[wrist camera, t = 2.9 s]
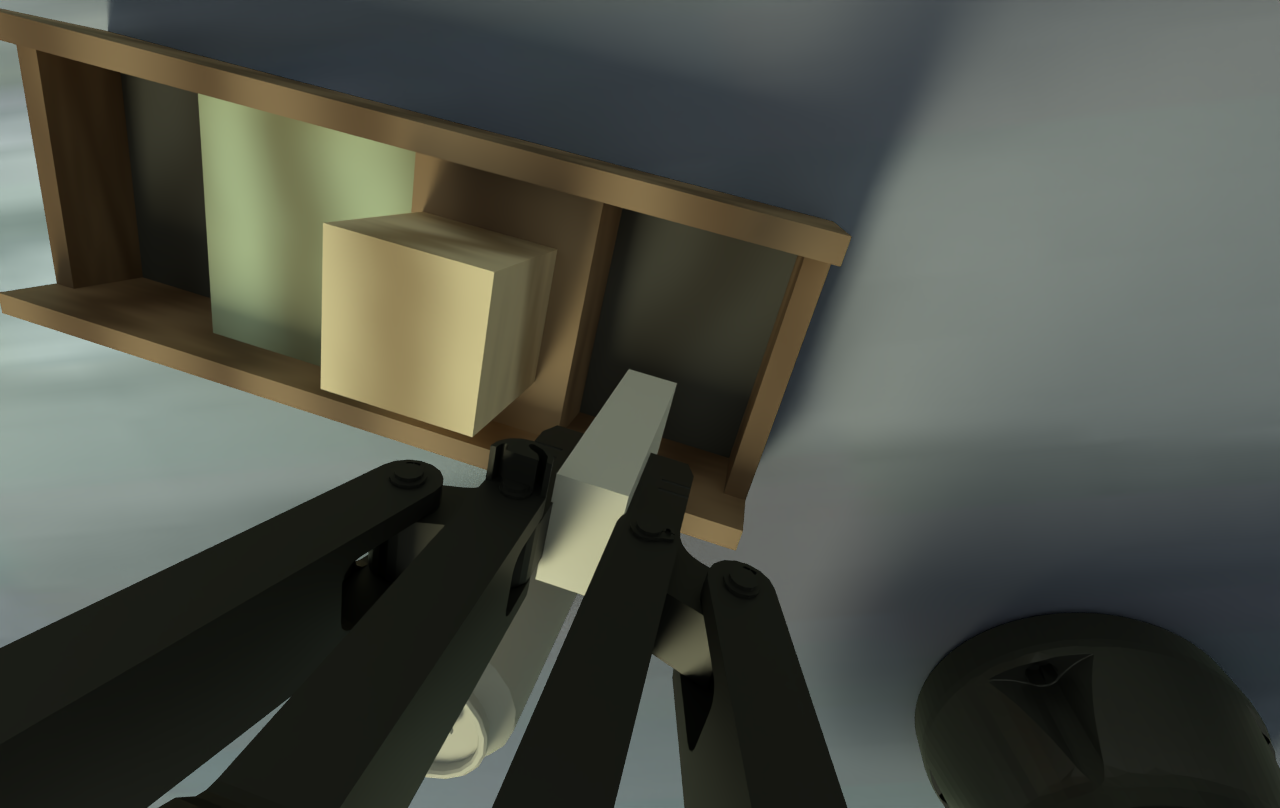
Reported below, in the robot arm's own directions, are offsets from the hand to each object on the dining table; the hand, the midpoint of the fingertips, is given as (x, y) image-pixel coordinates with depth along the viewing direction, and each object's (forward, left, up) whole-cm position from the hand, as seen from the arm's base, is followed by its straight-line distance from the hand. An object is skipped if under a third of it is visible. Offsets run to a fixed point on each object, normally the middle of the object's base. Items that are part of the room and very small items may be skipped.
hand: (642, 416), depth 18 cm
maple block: (+9, 0, -7) cm, 11 cm away
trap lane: (+13, 0, -11) cm, 17 cm away
